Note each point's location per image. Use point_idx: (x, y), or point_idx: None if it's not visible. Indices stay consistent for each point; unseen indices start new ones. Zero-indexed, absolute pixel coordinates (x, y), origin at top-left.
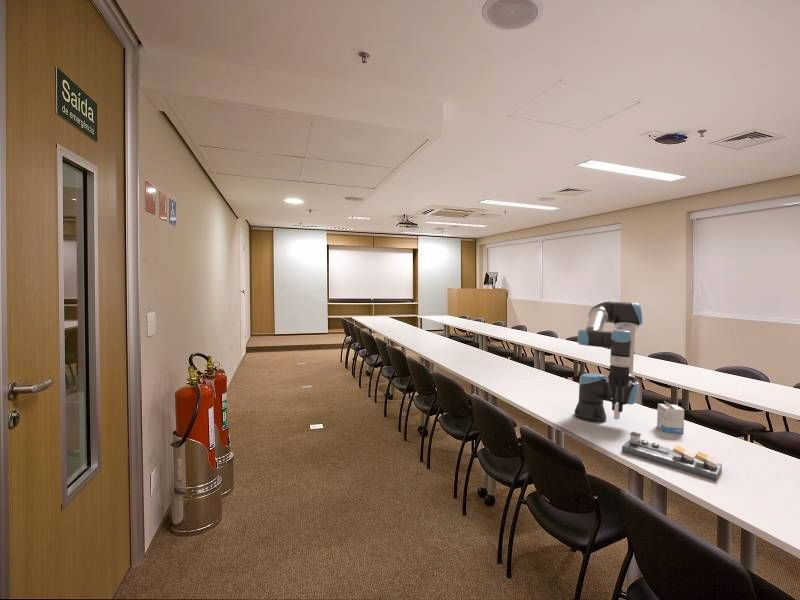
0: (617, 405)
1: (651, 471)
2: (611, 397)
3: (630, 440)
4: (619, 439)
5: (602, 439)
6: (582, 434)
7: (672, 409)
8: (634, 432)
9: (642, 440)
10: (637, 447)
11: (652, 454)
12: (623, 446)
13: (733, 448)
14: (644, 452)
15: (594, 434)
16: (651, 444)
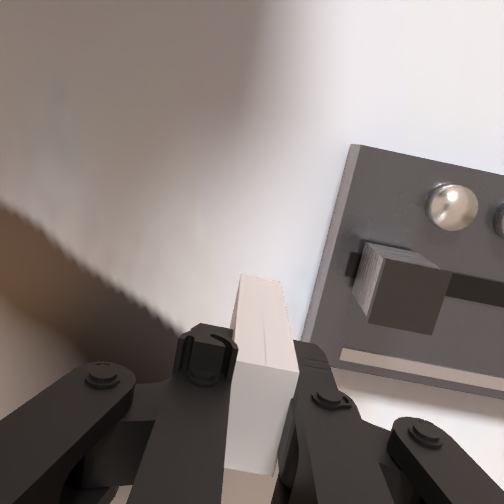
0: (259, 467)
1: None
2: (102, 427)
3: (358, 300)
4: (269, 112)
5: (165, 198)
6: (25, 189)
7: None
8: (402, 273)
9: (440, 206)
10: None
11: (479, 386)
12: None
13: None
14: (434, 381)
15: (95, 127)
16: (493, 196)
